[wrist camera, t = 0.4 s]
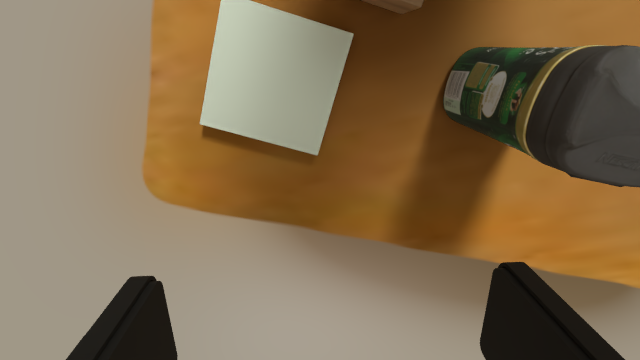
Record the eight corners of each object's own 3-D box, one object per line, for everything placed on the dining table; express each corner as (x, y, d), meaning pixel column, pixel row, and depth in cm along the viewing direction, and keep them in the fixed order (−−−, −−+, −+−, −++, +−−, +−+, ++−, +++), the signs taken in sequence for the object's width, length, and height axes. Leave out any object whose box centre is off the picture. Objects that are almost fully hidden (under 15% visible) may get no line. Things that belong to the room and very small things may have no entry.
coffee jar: (546, 59, 35) (786, 71, 18) (515, 135, 38) (695, 210, 20) (456, 37, 34) (616, 26, 16) (430, 117, 36) (544, 180, 19)
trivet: (226, -6, 32) (222, -9, 30) (351, 34, 33) (353, 33, 32) (204, 120, 36) (199, 124, 34) (317, 151, 37) (317, 155, 36)
